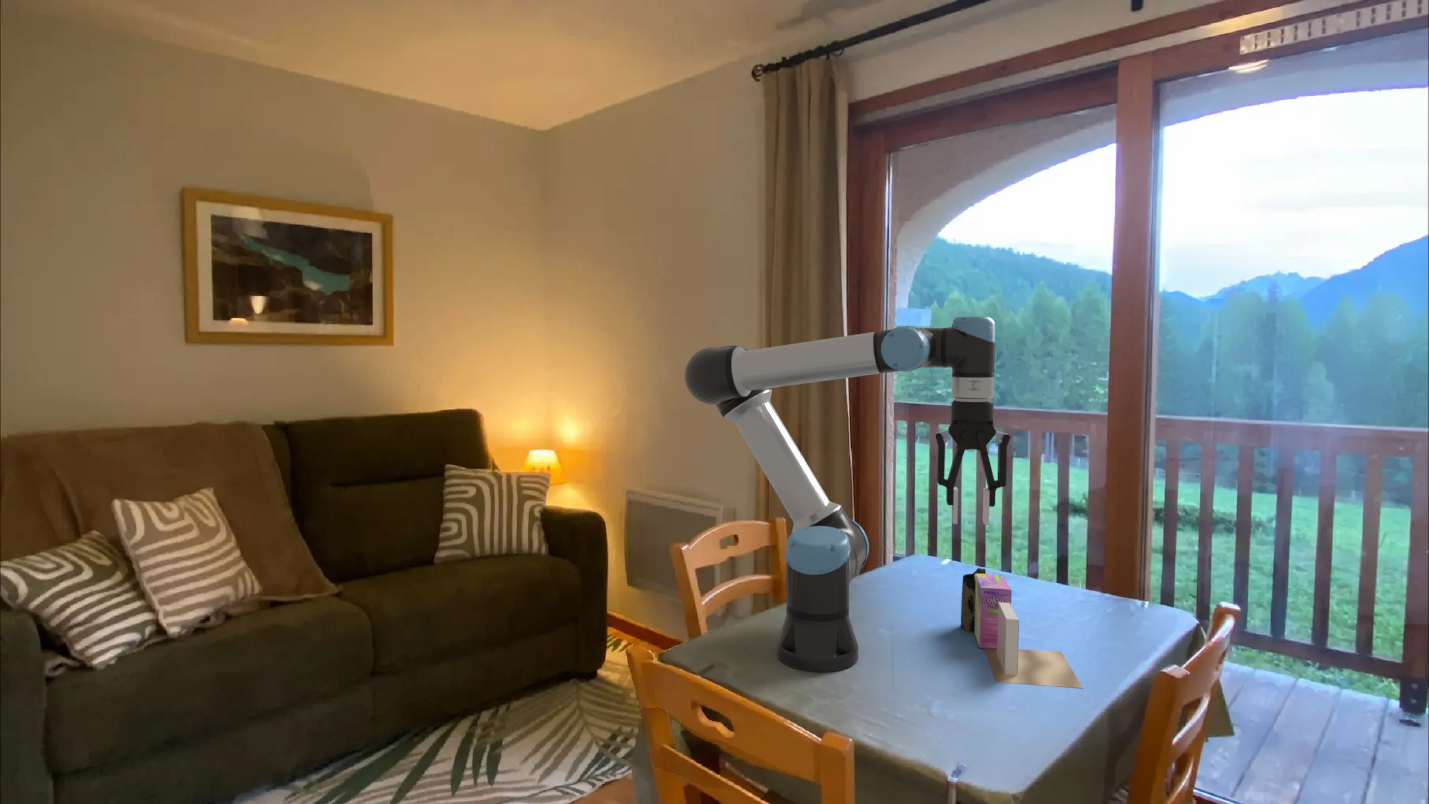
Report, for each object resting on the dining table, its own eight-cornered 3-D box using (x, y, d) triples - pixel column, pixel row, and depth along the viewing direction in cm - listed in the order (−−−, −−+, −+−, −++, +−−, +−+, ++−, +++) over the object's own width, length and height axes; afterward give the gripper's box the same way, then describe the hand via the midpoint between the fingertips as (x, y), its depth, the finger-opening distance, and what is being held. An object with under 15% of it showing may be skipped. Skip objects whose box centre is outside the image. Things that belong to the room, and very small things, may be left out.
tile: (1005, 674, 140) (1006, 618, 140) (997, 654, 149) (998, 602, 148) (1017, 675, 140) (1019, 619, 139) (1009, 655, 149) (1010, 602, 148)
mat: (996, 684, 137) (996, 681, 137) (983, 649, 153) (983, 646, 153) (1083, 691, 135) (1083, 688, 135) (1061, 654, 150) (1061, 651, 150)
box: (1010, 650, 151) (1011, 588, 150) (979, 648, 152) (980, 587, 151) (1002, 632, 161) (1003, 574, 160) (973, 630, 162) (973, 572, 162)
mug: (984, 637, 159) (985, 577, 158) (956, 632, 162) (957, 573, 161) (995, 626, 165) (996, 569, 165) (968, 621, 168) (969, 565, 168)
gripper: (924, 400, 147) (922, 525, 149) (1027, 401, 143) (1024, 529, 145) (921, 397, 154) (919, 516, 156) (1019, 398, 151) (1016, 520, 153)
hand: (970, 522), depth 151 cm, fingers open, 5 cm apart
